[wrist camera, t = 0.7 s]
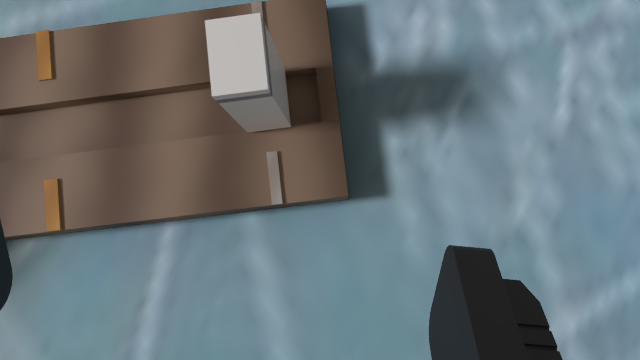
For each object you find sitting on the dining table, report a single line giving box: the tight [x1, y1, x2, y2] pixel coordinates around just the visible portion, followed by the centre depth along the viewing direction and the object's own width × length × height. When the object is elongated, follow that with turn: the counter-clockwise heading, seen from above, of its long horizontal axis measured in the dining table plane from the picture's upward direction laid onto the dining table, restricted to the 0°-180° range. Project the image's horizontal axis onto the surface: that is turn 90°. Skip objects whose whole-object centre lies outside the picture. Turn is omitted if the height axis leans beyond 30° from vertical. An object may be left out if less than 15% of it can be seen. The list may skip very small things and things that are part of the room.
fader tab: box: [205, 13, 291, 133], centre depth 31 cm, size 2×4×9 cm
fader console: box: [0, 0, 349, 240], centre depth 36 cm, size 25×12×2 cm, turn 96°
